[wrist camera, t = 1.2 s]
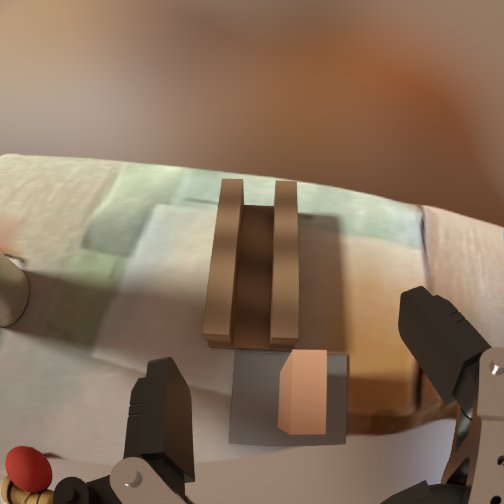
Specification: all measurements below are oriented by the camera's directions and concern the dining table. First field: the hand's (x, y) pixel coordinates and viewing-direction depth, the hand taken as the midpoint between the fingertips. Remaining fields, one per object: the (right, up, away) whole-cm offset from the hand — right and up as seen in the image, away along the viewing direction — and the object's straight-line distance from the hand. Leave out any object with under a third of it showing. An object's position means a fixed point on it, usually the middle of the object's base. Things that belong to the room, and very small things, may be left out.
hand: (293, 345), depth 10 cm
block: (+3, -12, +20) cm, 24 cm away
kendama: (-27, -28, +13) cm, 41 cm away
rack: (-1, +1, +28) cm, 28 cm away
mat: (+3, -12, +21) cm, 24 cm away
